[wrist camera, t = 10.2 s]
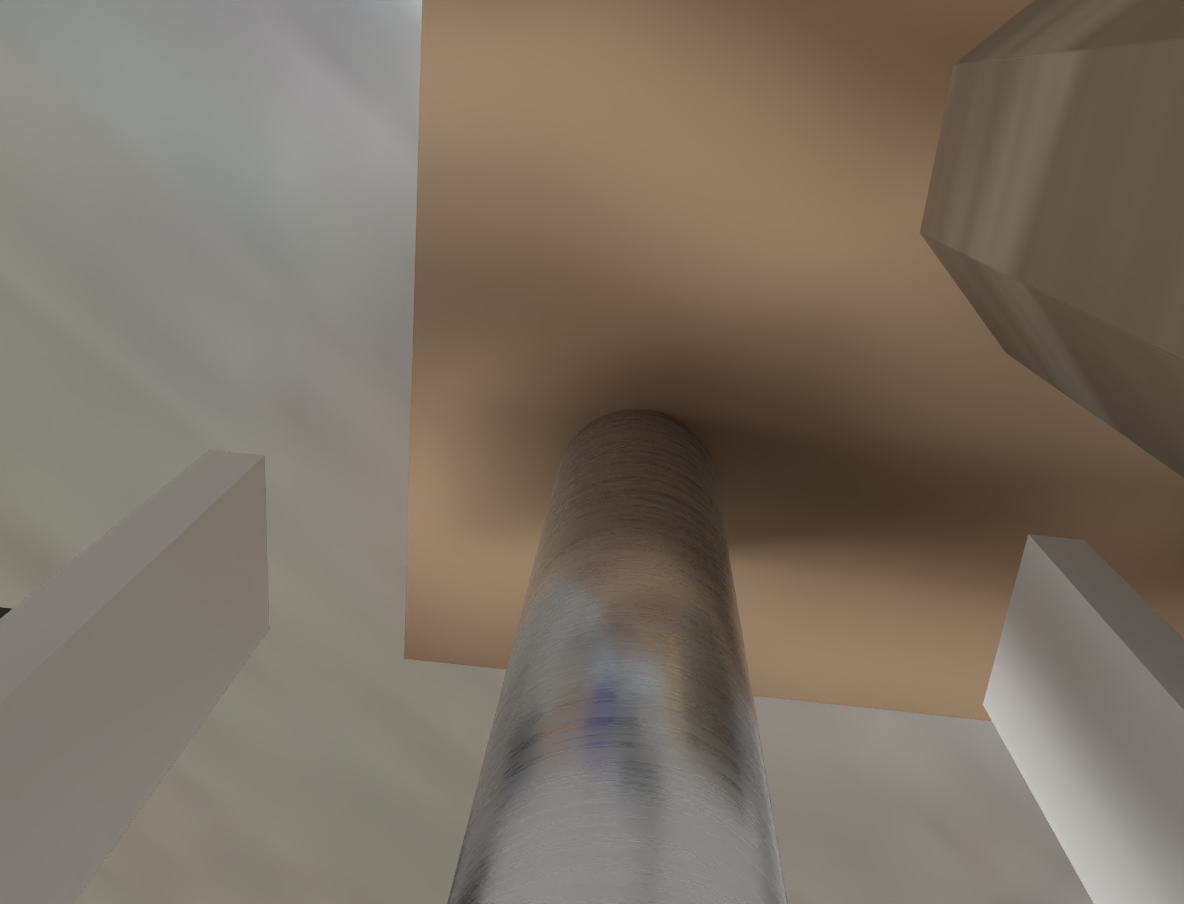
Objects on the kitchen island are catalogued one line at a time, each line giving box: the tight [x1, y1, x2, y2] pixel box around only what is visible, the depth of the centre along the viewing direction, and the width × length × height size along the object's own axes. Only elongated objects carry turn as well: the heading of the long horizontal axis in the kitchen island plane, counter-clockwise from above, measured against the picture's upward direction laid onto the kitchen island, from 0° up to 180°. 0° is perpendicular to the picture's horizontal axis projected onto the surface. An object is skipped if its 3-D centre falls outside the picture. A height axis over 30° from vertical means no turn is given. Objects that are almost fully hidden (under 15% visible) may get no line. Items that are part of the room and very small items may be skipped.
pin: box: [447, 409, 788, 904], centre depth 12 cm, size 3×3×12 cm
